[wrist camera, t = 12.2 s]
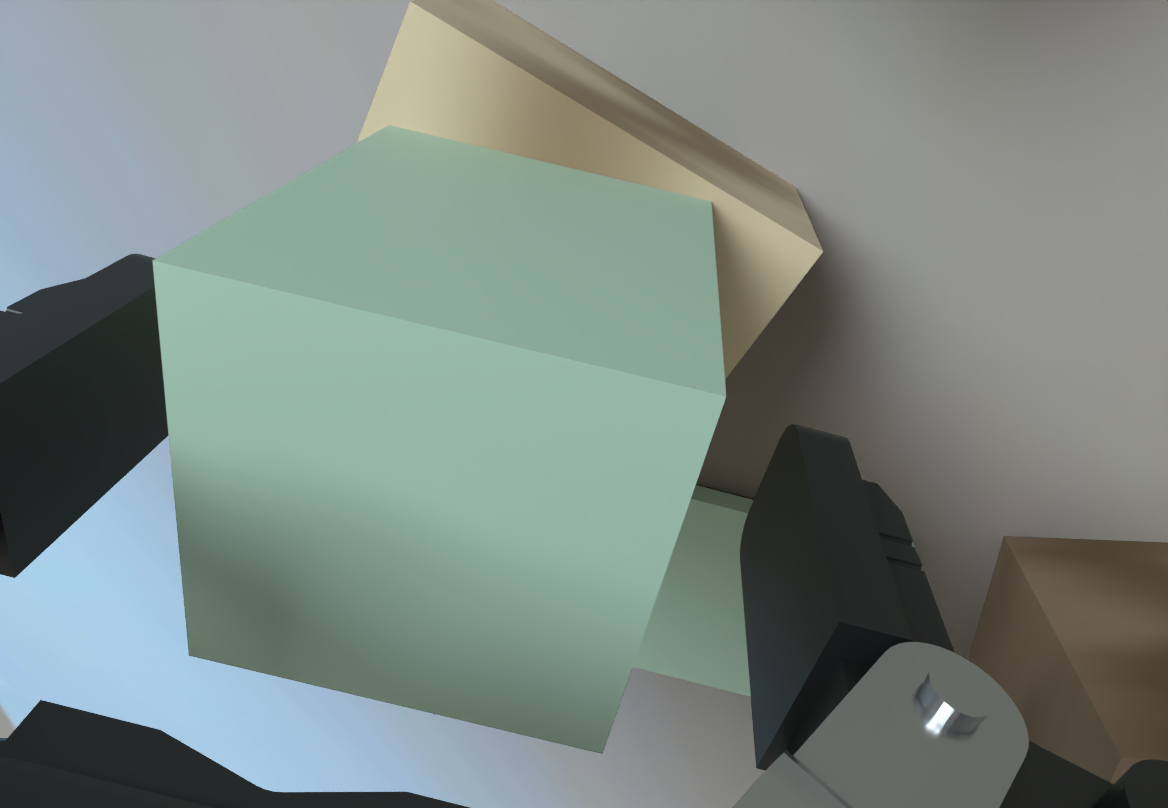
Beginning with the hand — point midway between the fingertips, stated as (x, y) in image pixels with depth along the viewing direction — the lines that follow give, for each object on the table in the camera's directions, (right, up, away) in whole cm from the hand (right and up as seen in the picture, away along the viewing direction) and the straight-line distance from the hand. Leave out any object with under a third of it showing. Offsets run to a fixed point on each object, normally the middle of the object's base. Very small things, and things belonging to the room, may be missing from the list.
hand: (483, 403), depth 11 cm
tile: (+6, -5, +10) cm, 13 cm away
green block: (0, +2, +2) cm, 3 cm away
